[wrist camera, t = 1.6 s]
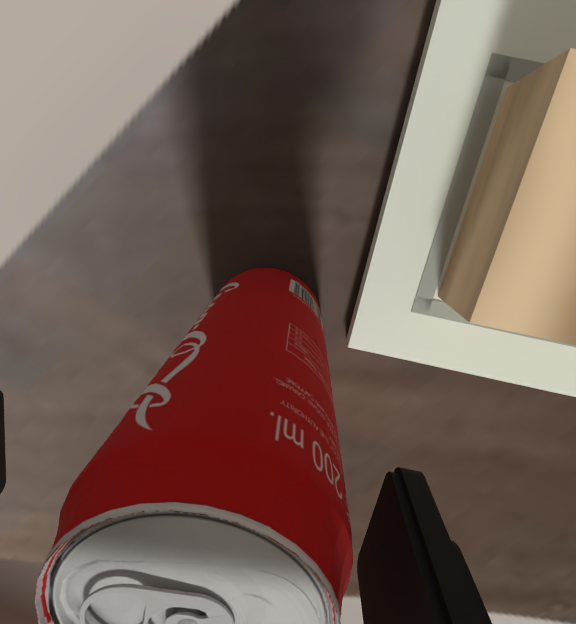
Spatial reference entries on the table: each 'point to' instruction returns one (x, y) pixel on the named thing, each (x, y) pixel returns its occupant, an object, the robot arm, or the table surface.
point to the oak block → (523, 214)
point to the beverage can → (215, 481)
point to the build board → (456, 194)
